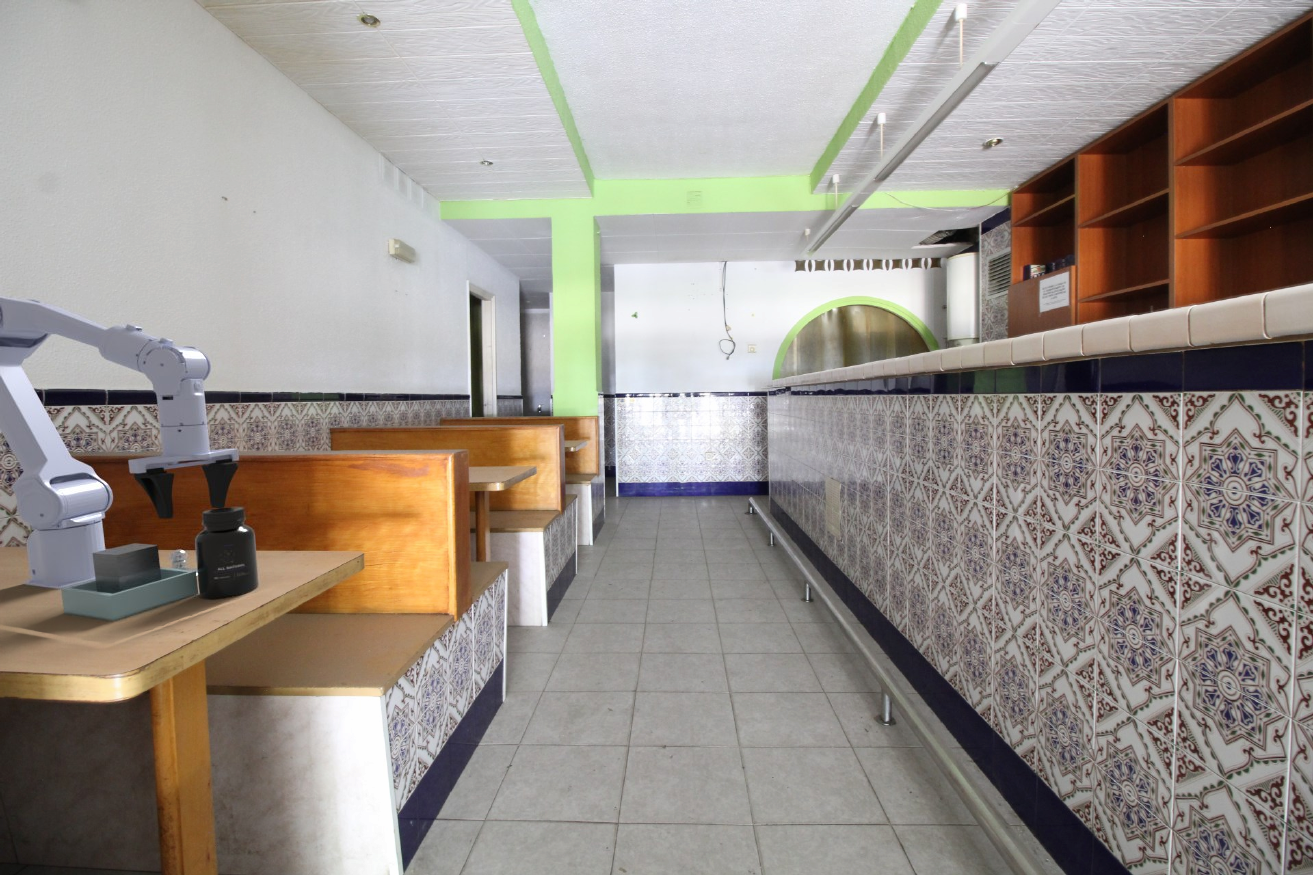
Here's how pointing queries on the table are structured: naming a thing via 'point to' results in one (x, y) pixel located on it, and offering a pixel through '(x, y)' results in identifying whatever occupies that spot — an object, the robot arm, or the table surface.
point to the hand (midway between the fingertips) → (193, 512)
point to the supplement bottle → (226, 554)
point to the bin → (129, 596)
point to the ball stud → (180, 560)
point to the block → (126, 567)
